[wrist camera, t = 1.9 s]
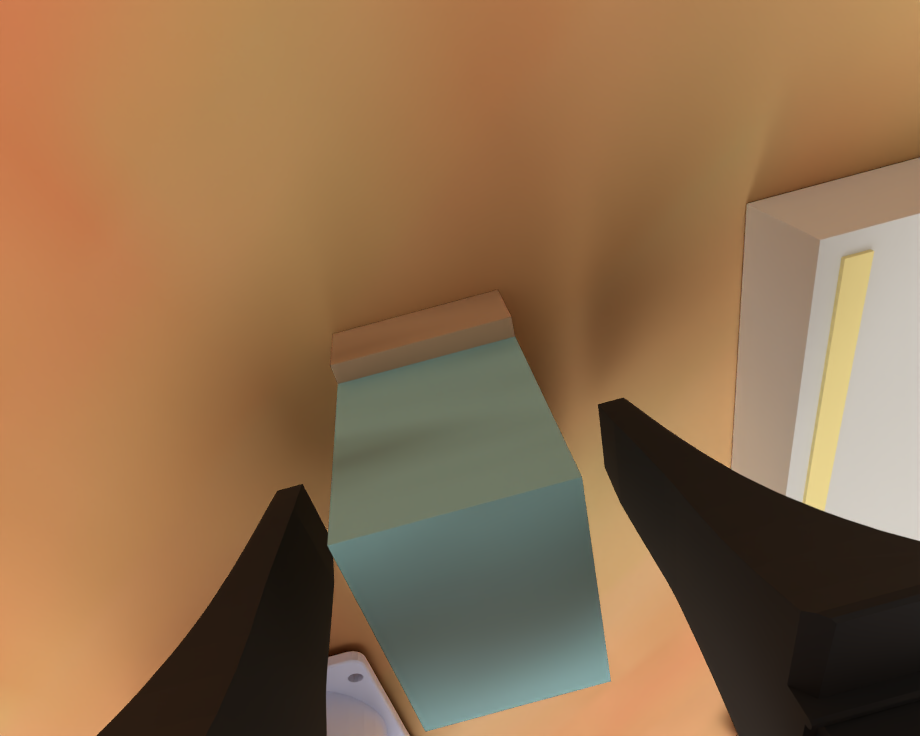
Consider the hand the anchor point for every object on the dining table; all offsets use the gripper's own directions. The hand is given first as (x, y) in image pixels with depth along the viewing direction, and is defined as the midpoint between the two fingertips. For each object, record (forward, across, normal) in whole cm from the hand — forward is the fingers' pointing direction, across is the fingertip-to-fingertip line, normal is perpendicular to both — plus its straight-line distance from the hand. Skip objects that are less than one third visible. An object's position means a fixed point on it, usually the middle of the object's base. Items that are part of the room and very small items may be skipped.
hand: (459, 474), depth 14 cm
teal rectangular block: (+2, 0, 0) cm, 2 cm away
